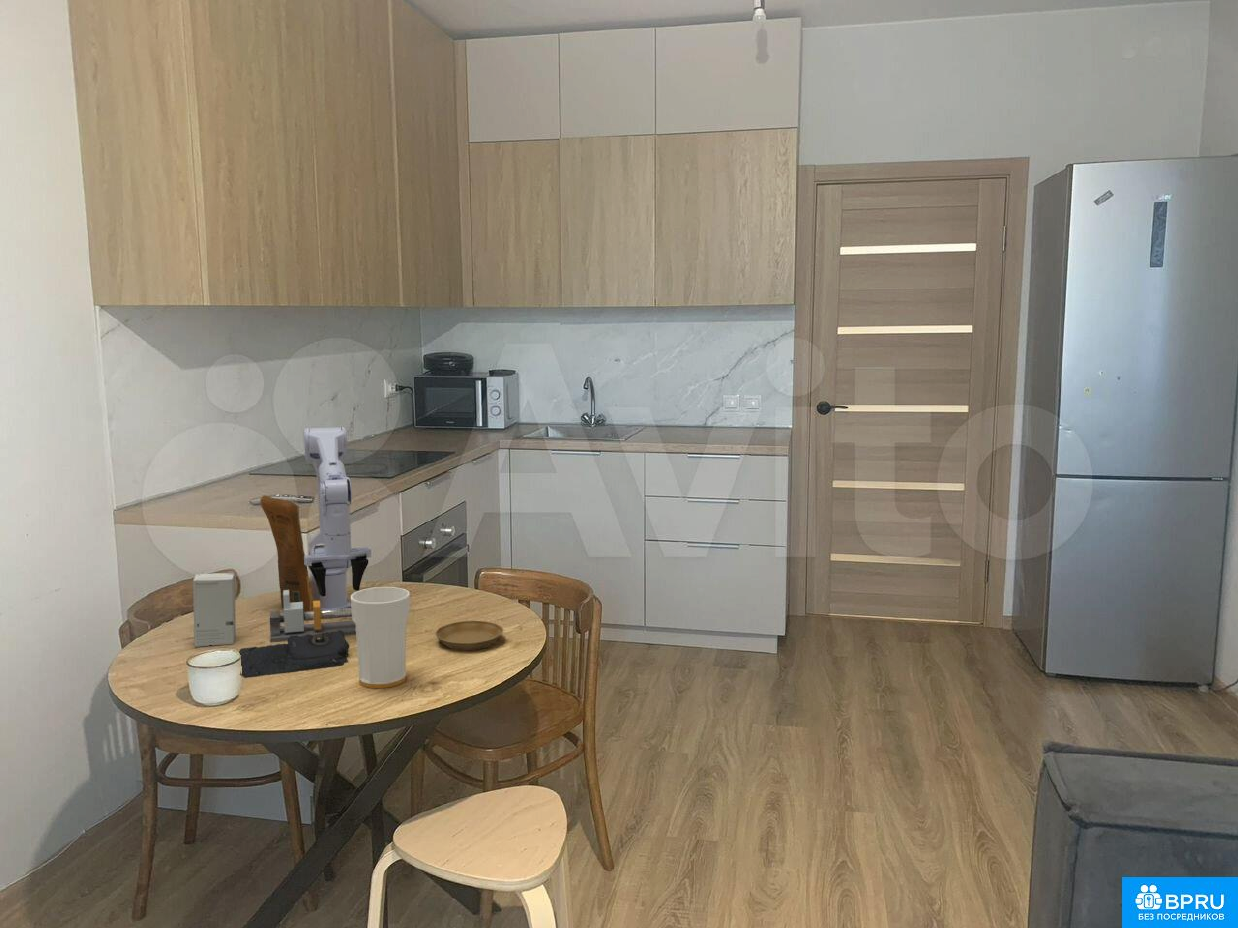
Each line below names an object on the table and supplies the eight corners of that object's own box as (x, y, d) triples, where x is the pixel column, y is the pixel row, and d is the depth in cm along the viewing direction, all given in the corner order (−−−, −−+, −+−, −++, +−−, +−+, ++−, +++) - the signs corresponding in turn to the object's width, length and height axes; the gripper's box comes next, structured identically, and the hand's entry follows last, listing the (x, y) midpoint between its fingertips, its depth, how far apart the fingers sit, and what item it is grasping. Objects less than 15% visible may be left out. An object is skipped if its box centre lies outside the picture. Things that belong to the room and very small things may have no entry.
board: (270, 642, 210) (270, 638, 210) (271, 630, 217) (271, 626, 217) (391, 631, 218) (391, 627, 218) (388, 620, 225) (388, 616, 225)
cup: (388, 664, 197) (386, 583, 194) (423, 678, 190) (422, 593, 187) (341, 680, 188) (338, 595, 186) (376, 695, 181) (374, 606, 179)
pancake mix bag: (294, 623, 223) (284, 505, 218) (268, 603, 238) (257, 492, 233) (322, 616, 227) (313, 501, 222) (294, 597, 242) (285, 488, 237)
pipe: (270, 639, 211) (269, 617, 210) (271, 632, 216) (270, 611, 215) (391, 628, 219) (390, 607, 218) (389, 622, 224) (388, 601, 223)
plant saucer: (472, 659, 202) (472, 647, 201) (421, 645, 209) (421, 633, 209) (516, 639, 214) (516, 628, 213) (466, 627, 222) (466, 616, 221)
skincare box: (194, 647, 206) (190, 580, 204) (197, 638, 212) (193, 573, 209) (236, 644, 208) (232, 577, 206) (238, 635, 214) (234, 570, 212)
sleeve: (284, 632, 212) (283, 595, 210) (285, 625, 217) (283, 589, 215) (303, 630, 213) (302, 594, 212) (303, 623, 218) (302, 588, 217)
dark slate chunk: (235, 656, 202) (234, 635, 202) (342, 643, 211) (342, 622, 210) (239, 682, 188) (237, 659, 188) (353, 666, 197) (352, 644, 196)
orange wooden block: (314, 630, 214) (313, 607, 213) (314, 622, 219) (313, 600, 218) (321, 629, 214) (320, 607, 213) (321, 622, 219) (320, 600, 218)
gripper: (310, 540, 204) (313, 602, 206) (375, 532, 213) (377, 591, 215) (299, 534, 210) (302, 594, 212) (363, 526, 218) (365, 584, 220)
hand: (339, 592), depth 214 cm, fingers open, 7 cm apart
